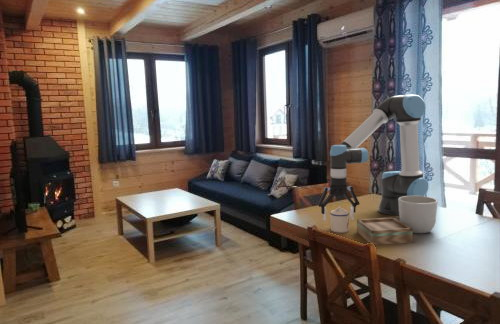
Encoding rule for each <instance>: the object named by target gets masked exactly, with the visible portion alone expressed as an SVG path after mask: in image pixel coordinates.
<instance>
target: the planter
mask: <svg viewBox="0 0 500 324" xmlns="http://www.w3.org/2000/svg"><path fill="white" fill-rule="evenodd" d="M438 202H439V201H438V199H436V198H434V197H431V196H426V195H425V196H402V197H399V198H398V204H399V215H398V216H399V219H398V220H399V221H401V222H402V223H404V224H406V225H407V226H409V227H411V228H412V229H413V230H412V231H413V233H414V234H427V233H429V232H431V231H432V230H433V229H434V227H435V225H436V221H437V213H438V212H437V211H438Z"/></svg>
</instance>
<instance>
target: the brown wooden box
mask: <svg viewBox="0 0 500 324" xmlns="http://www.w3.org/2000/svg"><path fill="white" fill-rule="evenodd" d="M412 230H413V229H412V228H411V227H409V226H407V225H406V224H404V223H402V222H401V221H400V219H398V218H396V217H379V218H378V217H377V218H362V219H360V218H358V219H356V232H357V233H358V235H360V236H361V237H362V238H363V239H364V240H365V241H366V242H367V243H369V242H370V243H373V244H375V245H376V246H377V245H392V244H395V245H396V244H405V243H406V244H407V243H413V231H412ZM370 243H369V244H370ZM375 245H374V246H375Z"/></svg>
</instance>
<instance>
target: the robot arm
mask: <svg viewBox="0 0 500 324" xmlns="http://www.w3.org/2000/svg"><path fill="white" fill-rule="evenodd" d="M426 109H427V108H426V103H425V100H424V99H423V98H422V97H421V96H420V95H418V94H411V93H410V94H404V95H403V94H402V95H394V96H389V97H388V98H386V99H385V100H384V101H382V102H381V103H380V104H379V105H378V106H376V107H375V108H374V109H373V110H372V114H371V115H370V116H368V117H367V118H366V119H365V120H364V121H363V122H362V123H361V124H360V125H359V126H358V127H357V128H356V129H355V130H354V131H352V133H351V134H349V135H348V136H347V137H346V138H345V139H344V140H343V141H342V142H340V144H333V145H331V147H330V151H329V156H330V159H329V160H330V186H329V187H327V186H324V188H323V192H322V194H321V196H320V198H319V200H318V202H317V204H316V205H317V206H318V207H320V208H321V209H320V212H321V213H320V214H322V216H323V217H322V218H323V221H324V222H326V221H327V207H326V206H327V205H328V204H329V202H330V201H331V200H332V199H333V198H334V197H343V196H344V198H345V199H346V200H348V202H349V203H350V206H349V207H350V211H349V216H350V217H349V219H351V221H352V220H353V221H354V215H355V213H356V208H357V206H359V205H360V201H359V199H358V198H357V194H356V193H355V191H354V187H353V186H352V185H349V186H347V167H348V166H347V165H349V164H350V165H351V164H352V165H353V164H363V163H367V162H368V160H369V151H368V149H367V148H366V147H361V145H362V144H363V143H364V142H365V141H366V140H367V139H368V138H369V137H371V136H372V134H373V133H374V132H376V131H377V130H378V129H379V127H381V126H382V125H383V124H386V123H389V121H390V120H392V119H395V120H396V122H395V123H396V124H397V125H399V137H400V138H399V139H400V141H399V142H400V158H401V159H400V160H401V170H396V171H395V170H393V171H385V172H382V174H381V198H380V202H379V205H378V208H377V209H378V210H377V211H378V212H379V213H381V214H385V215H390V216H392V215H393V216H399V204H398V198H399V197H402V196H426V194H427V192H428V191H429V181H428V180H427V179H426V178H425V177H424V173H423V171H422V170H421V169H420V153H419V152H420V151H419V150H420V149H419V125H418V124H419V123H421V121H422V118H421V117H423V116H424V115H425V114H424V113H425V112H426ZM347 190H348V191H349V194H350V195H351V197H352V199H353V200H352V199H351V197H350V196H349V195H348V193H346V192H347ZM329 191H330V192H329ZM328 193H329V194H328ZM327 195H328V196H327ZM326 196H327V197H326ZM325 198H326V199H325Z"/></svg>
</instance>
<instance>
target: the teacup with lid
mask: <svg viewBox="0 0 500 324" xmlns="http://www.w3.org/2000/svg"><path fill="white" fill-rule="evenodd" d="M329 215H330V231H331V232H334V233H337V234H338V233H339V234H340V233H347V232H349V230H350V226H349V225H350V220H349V219H350V217H349V216H350V211H348V210H346V209H345V208H343V207H342V206H337V208H335V209H333V210H330V212H329Z"/></svg>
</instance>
